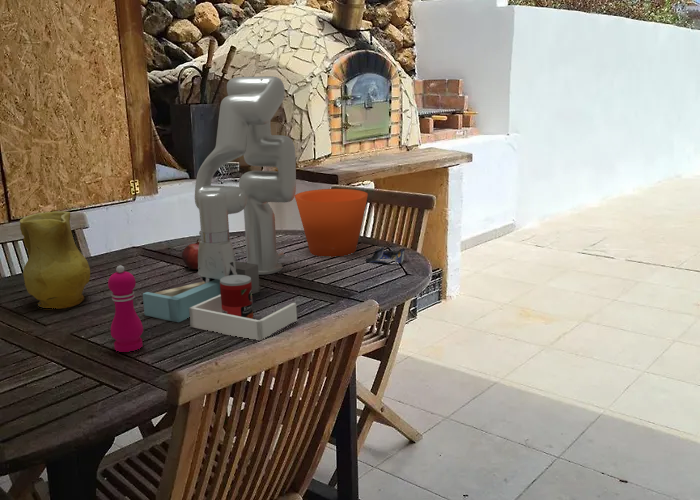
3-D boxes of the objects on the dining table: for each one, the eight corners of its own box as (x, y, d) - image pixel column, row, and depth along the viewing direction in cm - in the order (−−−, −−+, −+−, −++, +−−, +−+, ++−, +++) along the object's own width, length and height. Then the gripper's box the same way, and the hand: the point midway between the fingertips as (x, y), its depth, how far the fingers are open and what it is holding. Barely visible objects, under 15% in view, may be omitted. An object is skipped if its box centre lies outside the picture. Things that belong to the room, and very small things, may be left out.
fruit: (177, 271, 225) (174, 240, 222) (194, 263, 233) (192, 234, 231) (201, 273, 221) (199, 243, 219) (217, 265, 230) (215, 236, 227)
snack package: (378, 270, 222) (410, 264, 227) (376, 250, 222) (407, 244, 227) (361, 267, 233) (392, 261, 238) (359, 248, 233) (389, 242, 237)
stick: (208, 288, 207) (208, 280, 207) (213, 290, 205) (212, 282, 205) (151, 302, 196) (150, 293, 195) (155, 304, 194) (154, 295, 194)
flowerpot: (346, 264, 229) (345, 204, 224) (283, 255, 241) (280, 198, 235) (381, 246, 250) (380, 191, 245) (321, 239, 262) (319, 186, 256)
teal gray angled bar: (219, 284, 210) (217, 258, 208) (259, 291, 203) (258, 264, 201) (144, 315, 185) (141, 286, 183) (187, 324, 178) (184, 294, 176)
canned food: (247, 326, 176) (245, 284, 173) (217, 324, 177) (214, 282, 175) (257, 315, 183) (255, 275, 180) (228, 314, 185) (226, 273, 182)
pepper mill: (116, 342, 167) (107, 261, 162) (147, 341, 167) (139, 260, 162) (109, 354, 160) (99, 270, 155) (141, 353, 160) (132, 269, 155)
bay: (229, 308, 189) (227, 291, 187) (296, 322, 178) (296, 303, 177) (190, 326, 176) (189, 307, 175) (260, 342, 165) (259, 322, 164)
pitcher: (30, 317, 185) (16, 224, 179) (25, 297, 201) (13, 212, 195) (98, 306, 193) (87, 217, 187) (88, 288, 209) (78, 205, 203)
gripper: (182, 236, 191) (187, 300, 196) (230, 243, 183) (235, 309, 188) (201, 230, 198) (206, 292, 202) (248, 236, 189) (252, 301, 194)
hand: (219, 299), depth 195 cm, fingers open, 4 cm apart
